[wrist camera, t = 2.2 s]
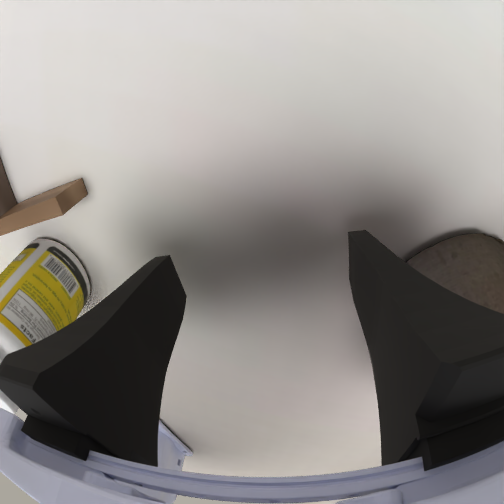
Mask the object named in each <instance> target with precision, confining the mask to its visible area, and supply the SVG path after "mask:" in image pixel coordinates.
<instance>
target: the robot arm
mask: <svg viewBox="0 0 504 504" xmlns="http://www.w3.org/2000/svg"><path fill="white" fill-rule="evenodd" d="M348 234H349V280H350V285H351V290H352V295H353V299H354V304H355V307H356V310H357V313H358V316H359V319H360V322H361V326H362V329H363V332H364V335H365V338H366V342H367V345H368V348H369V352H370V356H371V360H372V365H373V371H374V377H375V384H376V392H377V400H378V408H379V419H380V432H381V456H382V466H379V467H374V468H368V469H363V470H356V471H349V472H342V473H334V474H324V475H312V476H297V477H238V476H222V475H210V474H201V473H192V472H185V471H182V467H183V462H184V457H185V456H192V455H193V452H192V451H191V450H189V449H188V448H187V447H186V446H185V445H184V444H183V443H182V442H181V441H180V440H179V439H178V438H177V437H176V436H175V435H174V434H172V433H171V432H170V431H169V430H168V429H167V428H166V427H165V426H164V425H163V424H162V423H161V421H159V415H160V407H161V399H162V392H163V386H164V381H165V375H166V371H167V367H168V364H169V361H170V357H171V354H172V351H173V348H174V345H175V342H176V339H177V336H178V333H179V329H180V326H181V323H182V320H183V315H184V310H185V303H186V297H187V296H186V294H185V291H184V289H183V286H182V284H181V282H180V279H179V277H178V274H177V272H176V270H175V267H174V265H173V262H172V260H171V257H170V255H167V256H160V257H155V258H154V259H152V260H151V261H149V262H148V263H147V264H145V265H144V266H143V267H142V268H140V269H139V270H138V271H137V272H136V273H134V274H133V275H132V276H131V277H130V278H129V279H127V280H126V281H125V282H124V283H123V284H122V285H121V286H119V287H118V288H117V289H116V290H115V291H113V292H112V293H111V294H110V295H108V296H107V297H106V298H105V299H104V300H102V301H101V302H100V303H99V304H97V305H96V306H95V307H94V308H92V309H91V310H90V311H88V312H87V313H85V314H84V315H82V316H81V317H80V318H78V319H77V320H75V321H74V322H72V323H70V324H69V325H67V326H65V327H64V328H62V329H60V330H59V331H57V332H55V333H54V334H52V335H50V336H48V337H46V338H44V339H42V340H40V341H38V342H36V343H34V344H32V345H29V346H27V347H24V348H22V349H19V350H17V351H14V352H12V353H9V354H7V355H6V356H5V357H4V359H3V360H2V362H1V364H0V390H1V391H2V392H3V393H4V394H5V395H6V396H7V397H8V398H9V399H10V400H11V401H13V402H14V403H15V404H16V405H17V406H18V407H19V408H20V409H21V410H23V411H24V412H25V413H26V414H27V415H28V416H27V418H26V420H25V422H24V421H22V420H21V419H20V418H19V417H17V416H16V415H14V414H13V413H11V412H9V411H7V410H5V409H3V408H0V471H1V472H2V473H3V474H4V475H5V476H6V477H7V478H8V479H10V480H11V481H12V482H13V483H14V484H16V485H17V486H18V487H19V488H20V489H22V490H23V491H24V492H25V493H27V494H28V495H29V496H31V497H32V498H33V499H35V500H36V501H37V502H39V503H40V504H173V502H174V501H175V499H176V497H177V495H182V496H189V497H195V498H202V499H210V500H219V501H231V502H246V503H303V502H318V501H329V500H338V499H346V498H352V499H348V500H343V501H339V502H337V503H336V504H504V314H503V313H499V312H497V311H494V310H491V309H489V308H486V307H484V306H481V305H479V304H477V303H474V302H472V301H470V300H468V299H466V298H464V297H462V296H460V295H458V294H456V293H453V292H451V291H450V290H448V289H446V288H444V287H442V286H441V285H439V284H437V283H436V282H434V281H432V280H431V279H429V278H427V277H426V276H424V275H423V274H421V273H420V272H418V271H417V270H416V269H414V268H413V267H411V266H410V265H408V264H407V263H406V262H404V261H403V260H402V259H400V258H399V257H398V256H397V255H395V254H394V253H393V252H391V251H390V250H389V249H388V248H387V247H385V246H384V245H383V244H382V243H380V242H379V241H378V240H377V239H376V238H374V237H373V236H372V235H371V234H370V233H368V232H367V231H366V230H362V231H354V232H348ZM360 496H361V497H360ZM353 497H357V498H353Z"/></svg>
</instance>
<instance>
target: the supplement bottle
mask: <svg viewBox="0 0 504 504" xmlns="http://www.w3.org/2000/svg"><path fill="white" fill-rule="evenodd" d="M89 295H90V284H89V280H88V277H87V274H86V272H85V270H84V268H83V266H82V264H81V263H80V262H79V260H78V259H77V258H76V256H75V255H74V254H73V253H72V252H71V251H70V250H68V249H67V248H66V247H64V246H63V245H61V244H60V243H58V242H55V241H53V240H49V239H37V240H35V241H33V242H31V243H30V244H29V245H28V246H27V247H26V248H25V249H24V250H23V251H22V252H21V253H20V254H19V255H18V256H17V257H16V258H15V259H14V260H13V261H12V262H11V263H10V264H9V265H8V267H7V268H6V269H5V270H4V271H3V272H2V273H1V274H0V364H1V362H2V360H3V359H4V357H5V356H6V355H7V354H9V353H12V352H14V351H17V350H19V349H22V348H24V347H27V346H29V345H32V344H34V343H36V342H38V341H40V340H42V339H44V338H46V337H48V336H50V335H52V334H54V333H55V332H57V331H59V330H60V329H62V328H64V327H65V326H67V325H69V324H70V323H72V322H74V321H75V320H76V318H77V317H78V315H79V313H80V312H81V310H82V308H83V307H84V305H85V304H86V302H87V300H88V298H89ZM0 408H3V409H5V410H7V411H9V412H11V413H13V414H14V415H15V414H16V412H17V410H18V409H19V407H18V406H17V405H16V404H15V403H14V402H13V401H11V400H10V399H9V398H8V397H7V396H6V395H5V394H4V393H3V392H2V391H1V390H0Z"/></svg>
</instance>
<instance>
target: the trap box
mask: <svg viewBox="0 0 504 504" xmlns="http://www.w3.org/2000/svg"><path fill="white" fill-rule="evenodd" d="M87 195H88V193H87V191H86V188H85V185H84V183H83V180H82V178H81V179H78V180H75V181H72V182H70V183H67V184H64V185H62V186H59V187H57V188H54V189H51V190H49V191H46V192H44V193H42V194H39V195H37V196H34V197H32V198H30V199H27V200H25V201H23V202H20V203H18V204H17V202H16V200H15V197H14V195H13V192H12V190H11V187H10V185H9V182H8V179H7V176H6V174H5V171H4V168H3V165H2V162H1V159H0V236H1V235H4V234H7V233H10V232H13V231H15V230H18V229H21V228H24V227H27V226H30V225H33V224H36V223H39V222H42V221H45V220H49V219H52V218H55V217H58V216H62V215H64V214H65V213H66V212H67V211H68V210H70V209H71V208H72V207H73V206H74V205H76V204H77V203H78V202H79V201H80V200H82V199H83V198H84V197H85V196H87Z"/></svg>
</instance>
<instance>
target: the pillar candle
mask: <svg viewBox="0 0 504 504" xmlns="http://www.w3.org/2000/svg"><path fill="white" fill-rule="evenodd" d="M407 264H408V265H410V266H411V267H413V268H414V269H416V270H417V271H418V272H420V273H421V274H423V275H424V276H426V277H427V278H429V279H431V280H432V281H434V282H436V283H437V284H439V285H441V286H442V287H444V288H446V289H448V290H450V291H451V292H453V293H456V294H458V295H460V296H462V297H464V298H466V299H468V300H470V301H472V302H474V303H477V304H479V305H481V306H484V307H486V308H489V309H491V310H494V311H497V312H499V313H503V314H504V241H502V240H501V239H496V238H493V237H491V236H486V235H485V234H477V233H476V234H466V235H460V236H455V237H452V238H449V239H446V240H444V241H441V242H440V243H437V244H435V245H434V246H432V247H429V248H426V249H425V250H423V251H422V252H420V253H418V254H417V255H415V256H414V257H413V258H411V259H410V260H408V261H407ZM368 349H369V348H368ZM369 354H370V352H369ZM370 358H371V356H370ZM371 363H372V360H371ZM372 367H373V365H372ZM373 374H374V371H373ZM374 380H375V377H374ZM375 386H376V384H375ZM376 393H377V392H376Z"/></svg>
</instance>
